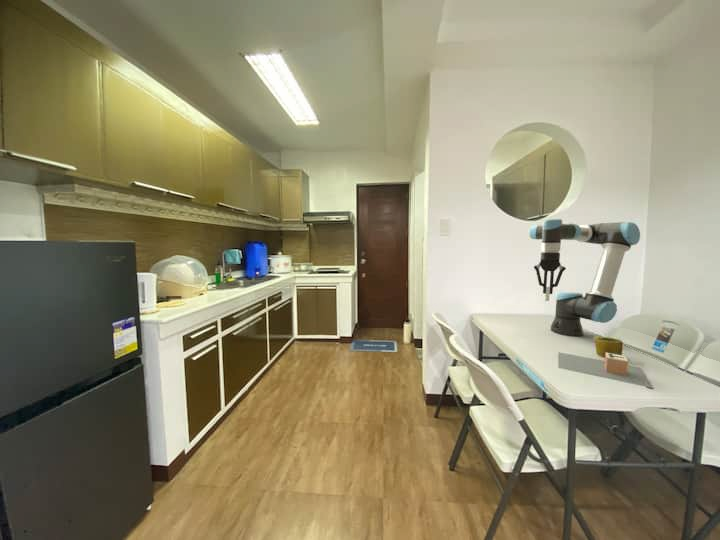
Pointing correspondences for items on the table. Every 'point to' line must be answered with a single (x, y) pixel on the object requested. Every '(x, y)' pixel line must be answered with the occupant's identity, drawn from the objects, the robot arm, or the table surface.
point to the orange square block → (616, 364)
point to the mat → (601, 369)
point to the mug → (608, 346)
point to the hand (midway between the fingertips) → (547, 300)
